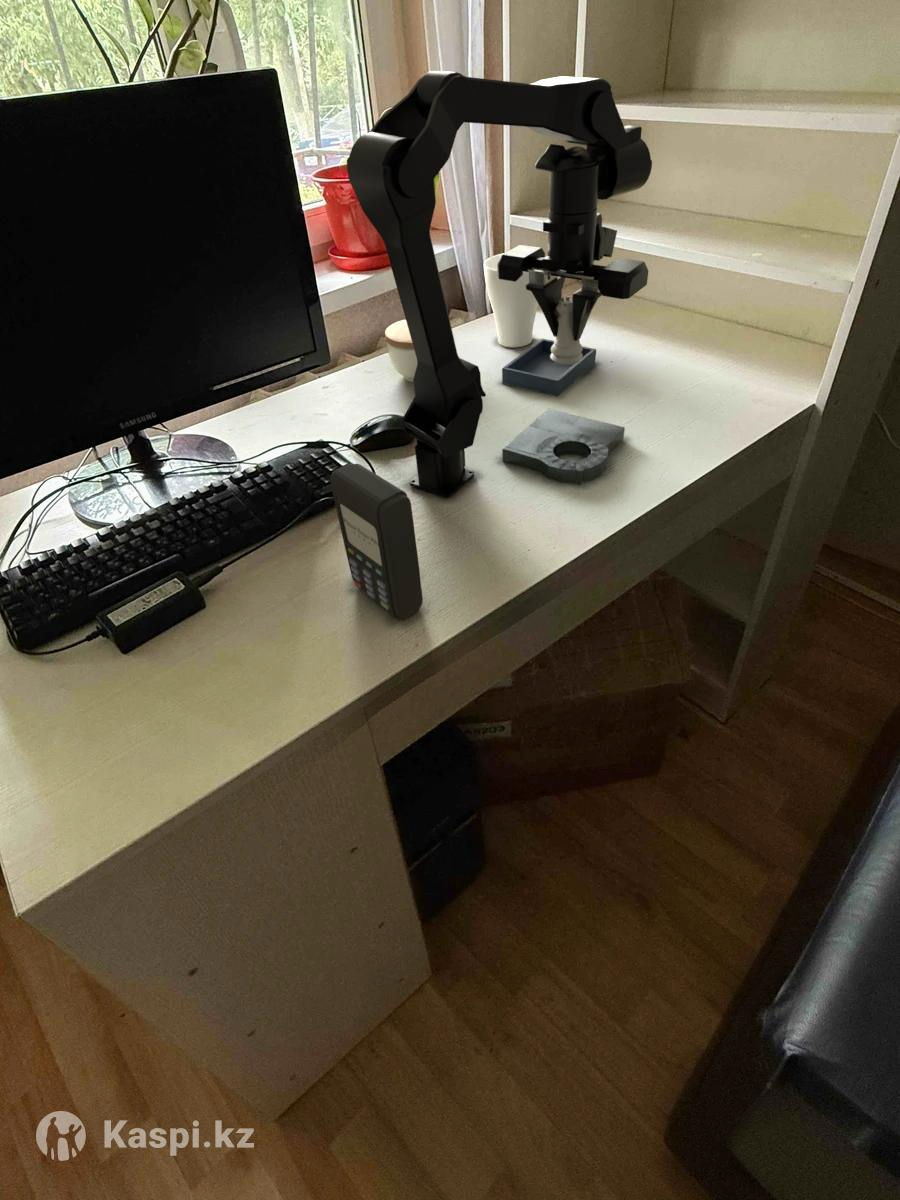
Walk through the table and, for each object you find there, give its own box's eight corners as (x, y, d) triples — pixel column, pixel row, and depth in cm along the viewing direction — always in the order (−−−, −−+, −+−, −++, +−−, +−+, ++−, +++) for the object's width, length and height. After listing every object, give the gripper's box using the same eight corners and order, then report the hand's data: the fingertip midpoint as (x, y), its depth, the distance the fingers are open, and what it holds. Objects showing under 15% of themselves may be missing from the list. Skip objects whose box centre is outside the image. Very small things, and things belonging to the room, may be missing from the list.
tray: (557, 396, 107) (558, 380, 105) (502, 383, 112) (501, 368, 110) (595, 364, 115) (596, 348, 113) (541, 353, 119) (542, 338, 118)
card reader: (347, 586, 77) (321, 472, 67) (376, 569, 79) (355, 456, 69) (397, 626, 72) (378, 509, 62) (427, 607, 74) (412, 491, 63)
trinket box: (381, 386, 114) (373, 330, 107) (403, 359, 121) (396, 305, 115) (442, 391, 111) (437, 334, 105) (461, 363, 118) (457, 308, 112)
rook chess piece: (581, 366, 92) (584, 306, 87) (548, 365, 93) (549, 305, 88) (583, 352, 95) (587, 293, 90) (551, 352, 96) (553, 293, 91)
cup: (474, 342, 124) (470, 264, 115) (514, 325, 129) (513, 248, 120) (515, 358, 118) (515, 276, 109) (556, 339, 123) (559, 259, 114)
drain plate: (587, 490, 88) (588, 477, 86) (499, 464, 94) (499, 451, 92) (631, 442, 96) (633, 429, 94) (548, 420, 102) (548, 408, 100)
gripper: (674, 197, 82) (657, 328, 92) (539, 186, 91) (537, 306, 101) (634, 223, 75) (620, 359, 86) (493, 208, 84) (496, 334, 95)
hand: (567, 337), depth 92 cm, fingers closed on rook chess piece, 3 cm apart
